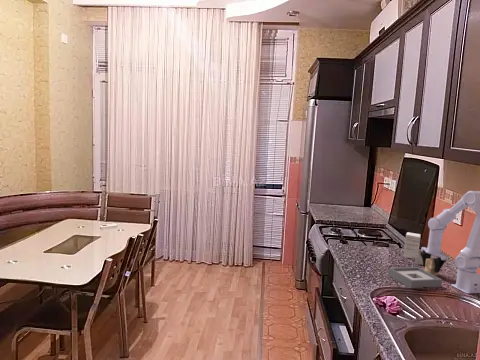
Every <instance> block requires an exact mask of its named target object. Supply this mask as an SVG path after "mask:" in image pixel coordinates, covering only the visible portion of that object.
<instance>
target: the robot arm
mask: <svg viewBox="0 0 480 360" xmlns="http://www.w3.org/2000/svg"><path fill="white" fill-rule="evenodd" d="M468 207H469V208H470V209H471V210H472V211H473V212H474V213H475V214H476V215H475V217H474V221H473V224H472V227H471V230H470V233H469V236H468V238H467V242H466V244H465V247H464V248H462V249H461V250H460V252H459V254H458V255H457V256H456V257H455V261H454V262H455V266H456V267H457V273H456V274H457V275H456V280H455V281H456V282H455V283H453V284H452V283H451V284H450V286H451V287H453V288H456V289H458V290H459V291H462V292H463V293H465V294H468V295H469V294H480V274H479V273H478V270H479V269H480V191H478V190H468V191H467V192H466V193H464V194H462V197H461V198H460V199H459V200H458V201H457V202H456V203H455V204H454V205H453V206H452V207H451V208H444V209H442V212H440V213H439V214H437V215H436V216H435V217H431V218H429V220H428V222H427V226H428V229H429V234H428V240H427V242H428V243H427V247H425V246H422V247H421V249H420V253H419V254H421V257H422V260H423V265H422V266H423V268H425V263H426V259H431V257H432V256H434V257H433V259H434V263H435V268H434V272H435V273H437V274H439V273H440V271H441V269H442V267H443V265H444V264H445V263H446V262H447V255H446V254H443V253H442V252H441V248H442V241H443V234H444V232H445V230H446V229H447V226H448V225H449V224H450V223H451V222H453V221H454V220H456V218H457V214H459V213H460V212H462V211H464V210H465V209H466V208H468Z"/></svg>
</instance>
